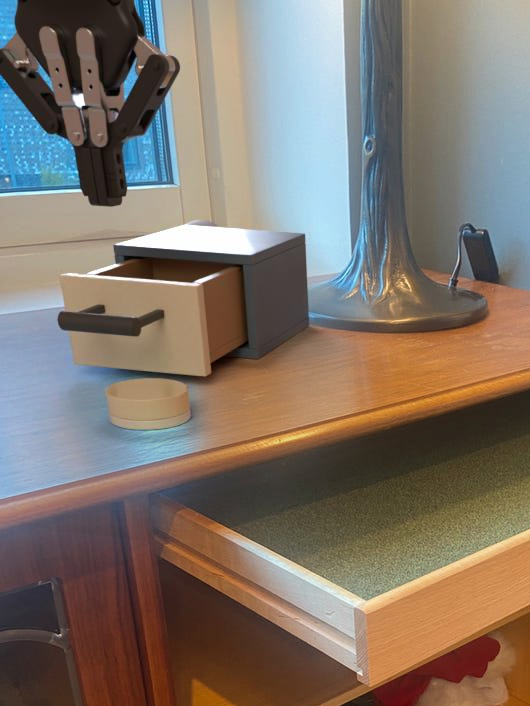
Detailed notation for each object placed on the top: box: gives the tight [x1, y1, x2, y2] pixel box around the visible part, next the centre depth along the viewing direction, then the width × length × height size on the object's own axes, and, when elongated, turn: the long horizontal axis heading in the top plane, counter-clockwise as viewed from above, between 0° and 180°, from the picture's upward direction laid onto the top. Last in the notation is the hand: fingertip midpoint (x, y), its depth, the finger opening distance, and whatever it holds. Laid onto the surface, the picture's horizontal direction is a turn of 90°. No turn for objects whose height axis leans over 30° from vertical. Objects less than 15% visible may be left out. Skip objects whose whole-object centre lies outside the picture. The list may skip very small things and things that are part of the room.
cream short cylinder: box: [104, 377, 192, 431], centre depth 71 cm, size 6×6×2 cm
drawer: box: [57, 257, 248, 377], centre depth 80 cm, size 19×12×7 cm, turn 171°
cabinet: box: [112, 224, 310, 360], centre depth 92 cm, size 15×13×9 cm
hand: (106, 204), depth 68 cm, fingers closed
